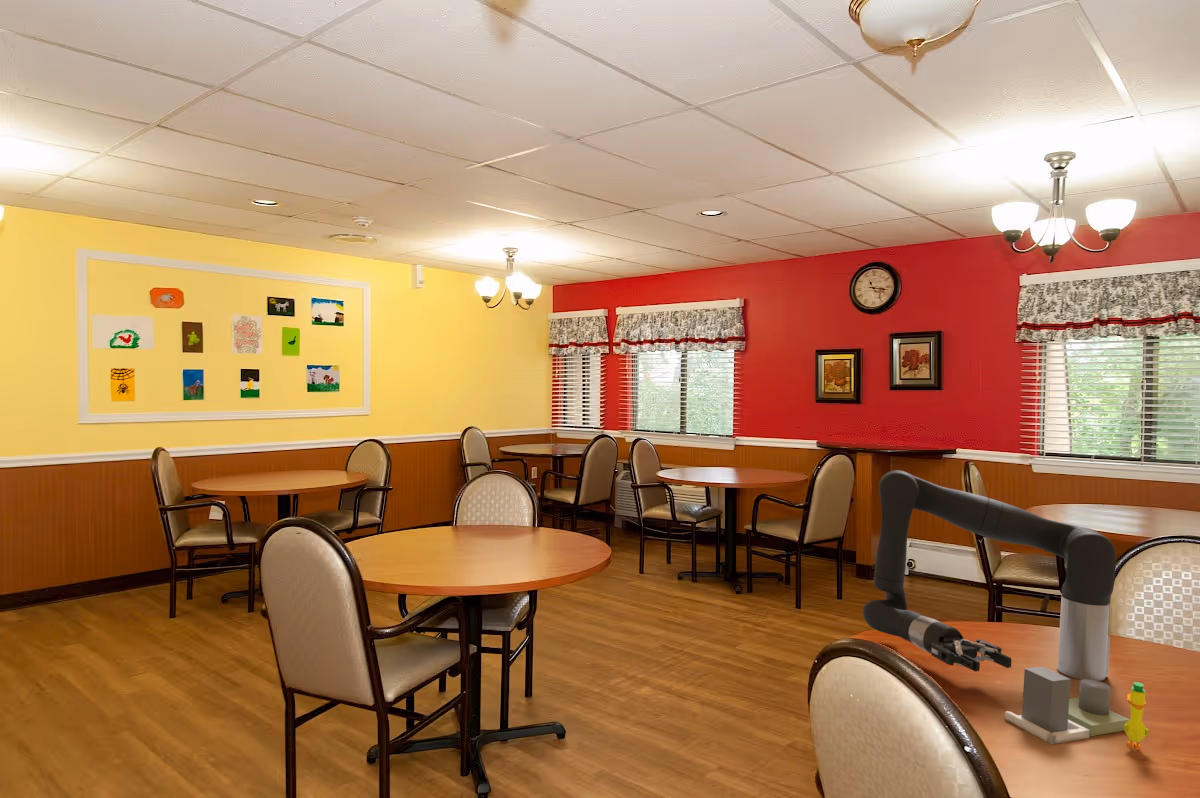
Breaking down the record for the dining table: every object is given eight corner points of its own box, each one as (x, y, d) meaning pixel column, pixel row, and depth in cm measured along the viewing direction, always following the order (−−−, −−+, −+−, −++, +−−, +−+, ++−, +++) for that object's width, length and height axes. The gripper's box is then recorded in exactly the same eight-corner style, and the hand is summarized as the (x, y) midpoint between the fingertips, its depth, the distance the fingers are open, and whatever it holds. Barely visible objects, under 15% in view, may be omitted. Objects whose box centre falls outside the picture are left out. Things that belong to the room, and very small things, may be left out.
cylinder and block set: (1080, 706, 149) (1082, 673, 149) (1132, 730, 139) (1134, 694, 139) (1002, 717, 142) (1004, 682, 142) (1051, 744, 132) (1053, 706, 132)
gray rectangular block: (1039, 716, 142) (1042, 666, 142) (1067, 731, 137) (1070, 679, 136) (1021, 719, 141) (1024, 668, 141) (1049, 733, 135) (1052, 681, 135)
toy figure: (1118, 736, 136) (1122, 673, 136) (1141, 741, 135) (1146, 677, 134) (1125, 751, 130) (1129, 686, 130) (1149, 757, 129) (1154, 691, 128)
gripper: (910, 623, 163) (968, 650, 147) (960, 619, 167) (1021, 644, 152) (909, 656, 163) (966, 686, 148) (958, 651, 168) (1019, 679, 152)
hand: (994, 665), depth 150 cm, fingers open, 8 cm apart
